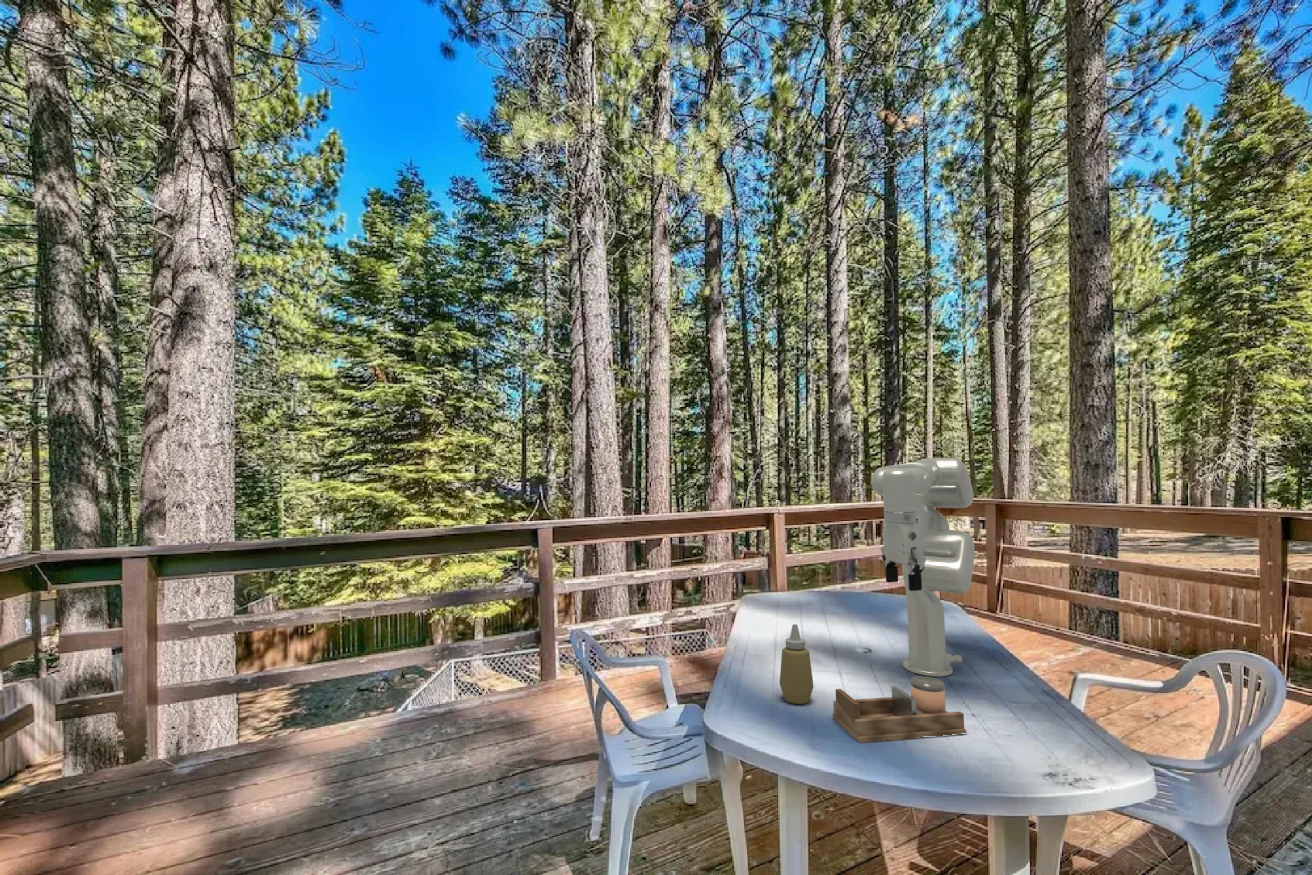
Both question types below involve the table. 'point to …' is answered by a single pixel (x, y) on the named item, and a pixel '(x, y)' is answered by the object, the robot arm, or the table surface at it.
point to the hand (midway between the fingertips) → (903, 585)
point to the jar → (928, 694)
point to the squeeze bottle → (796, 670)
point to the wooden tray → (890, 720)
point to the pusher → (903, 703)
